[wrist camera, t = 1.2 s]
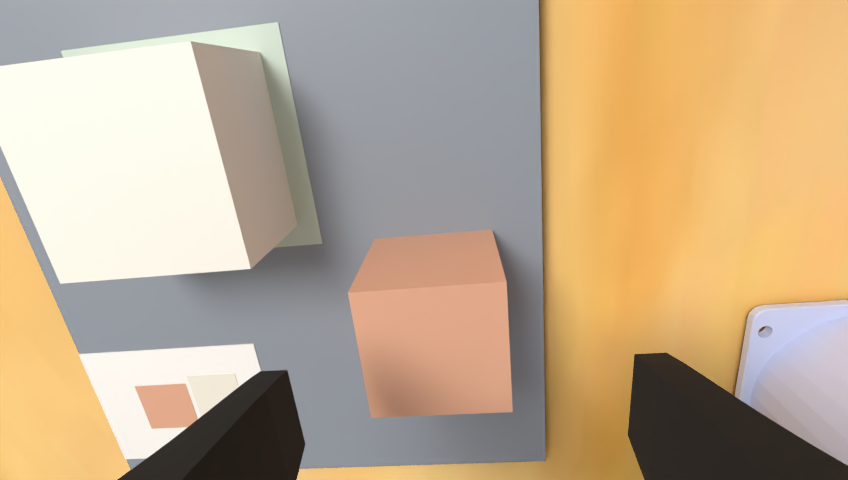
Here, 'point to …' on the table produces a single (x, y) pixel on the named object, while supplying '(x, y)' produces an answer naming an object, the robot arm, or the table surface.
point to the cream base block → (147, 160)
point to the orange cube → (433, 325)
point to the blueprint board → (323, 214)
